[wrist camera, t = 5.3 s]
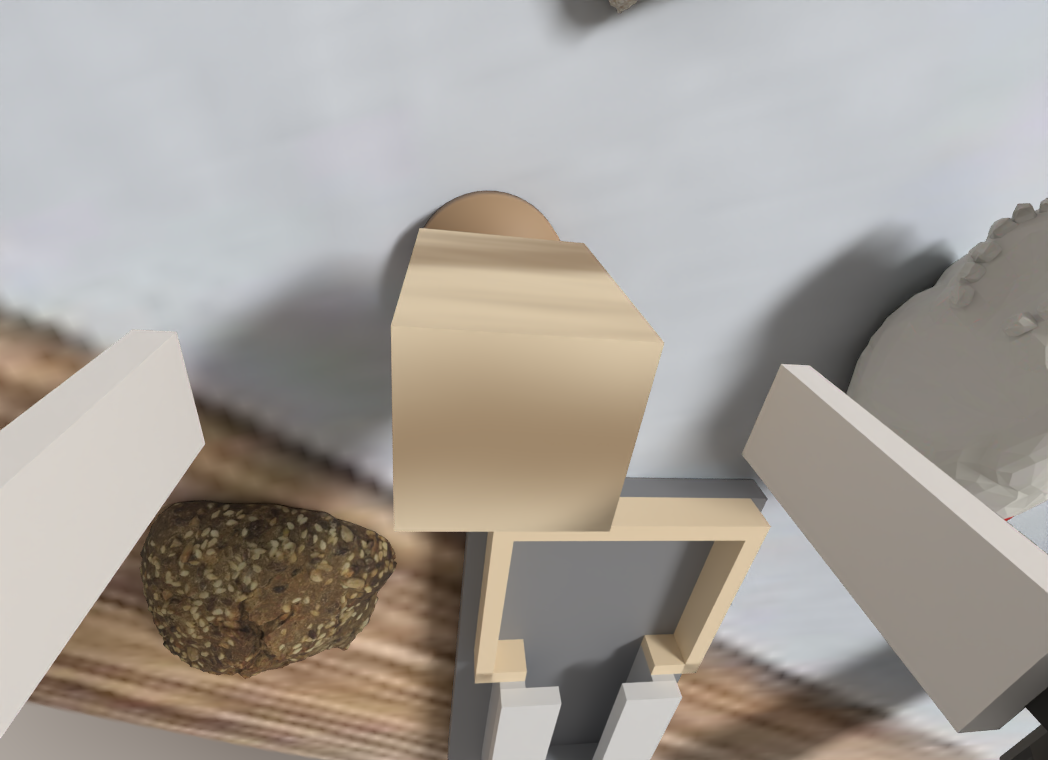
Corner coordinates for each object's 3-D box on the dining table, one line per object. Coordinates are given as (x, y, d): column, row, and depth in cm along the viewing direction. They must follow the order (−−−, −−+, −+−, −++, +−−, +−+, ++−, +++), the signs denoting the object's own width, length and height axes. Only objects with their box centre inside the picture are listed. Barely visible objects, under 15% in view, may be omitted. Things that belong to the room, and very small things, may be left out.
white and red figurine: (990, 157, 20) (1033, 360, 28) (751, 345, 23) (853, 478, 31) (1333, 232, 12) (1257, 476, 20) (915, 491, 15) (992, 615, 24)
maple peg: (415, 182, 18) (359, 296, 8) (572, 199, 19) (696, 320, 9) (413, 330, 21) (371, 547, 11) (550, 338, 22) (625, 545, 12)
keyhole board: (471, 474, 26) (473, 550, 21) (753, 479, 28) (805, 548, 24) (448, 743, 39) (446, 821, 35) (638, 730, 42) (658, 802, 38)
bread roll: (159, 469, 24) (93, 552, 19) (412, 517, 27) (404, 598, 23) (149, 629, 29) (97, 721, 25) (361, 652, 33) (346, 737, 28)
